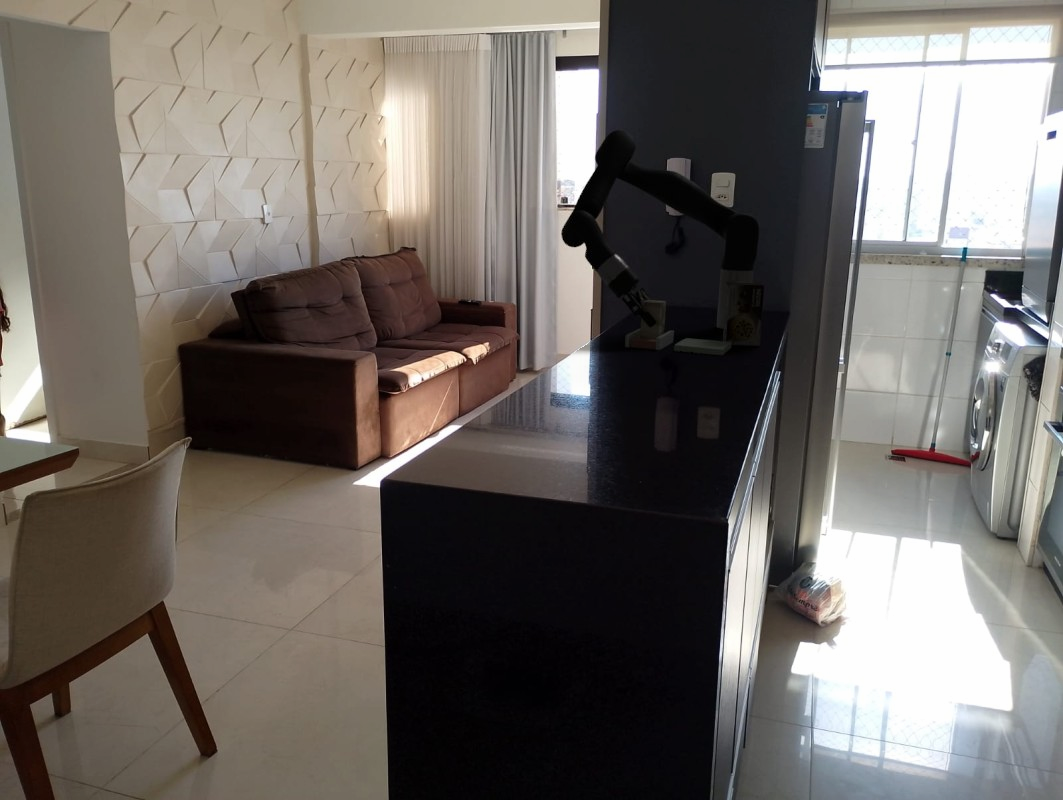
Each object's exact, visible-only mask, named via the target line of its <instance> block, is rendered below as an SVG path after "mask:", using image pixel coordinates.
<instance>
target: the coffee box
mask: <svg viewBox="0 0 1063 800" xmlns="http://www.w3.org/2000/svg"><path fill="white" fill-rule="evenodd" d="M764 293H765V284H763V283H762V282H760V281H759V282H755V281H754V282H753V281H752V282H727V289H726V303H725V317H724V329H723V334H722V341H724V342H732V346H749V347H750V346H751V347H759V346H761V336H762V334H761V333H762V324H763V323H762V321H763V320H762V319H763V311H764V310H763V307H764V297H765V296H764V295H765V294H764Z"/></svg>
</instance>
